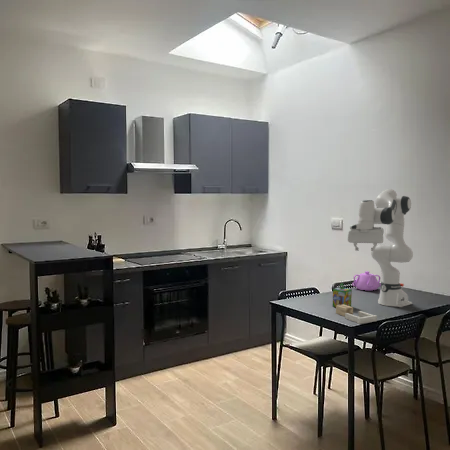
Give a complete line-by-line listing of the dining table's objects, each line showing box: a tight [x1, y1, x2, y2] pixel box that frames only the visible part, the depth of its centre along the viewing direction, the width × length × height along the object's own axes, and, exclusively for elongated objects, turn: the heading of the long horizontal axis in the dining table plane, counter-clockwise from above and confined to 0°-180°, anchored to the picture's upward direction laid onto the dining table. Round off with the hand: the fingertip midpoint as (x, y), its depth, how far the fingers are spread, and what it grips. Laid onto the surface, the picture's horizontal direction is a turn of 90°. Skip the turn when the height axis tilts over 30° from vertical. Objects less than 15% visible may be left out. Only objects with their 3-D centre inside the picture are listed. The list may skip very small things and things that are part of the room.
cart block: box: [335, 305, 354, 317], centre depth 274 cm, size 6×8×5 cm
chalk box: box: [332, 283, 353, 308], centre depth 293 cm, size 9×9×15 cm
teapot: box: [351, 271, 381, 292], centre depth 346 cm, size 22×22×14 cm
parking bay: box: [344, 310, 378, 325], centre depth 263 cm, size 14×12×3 cm
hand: (364, 250), depth 265 cm, fingers open, 8 cm apart
